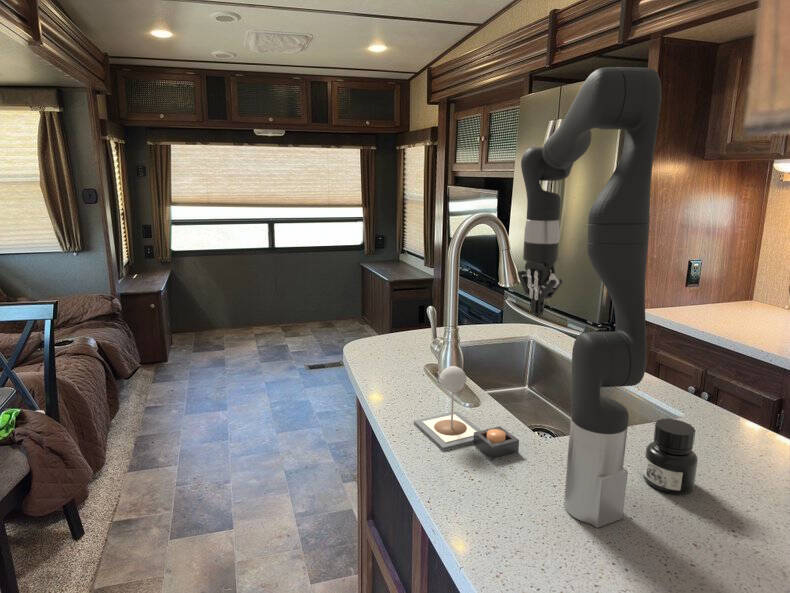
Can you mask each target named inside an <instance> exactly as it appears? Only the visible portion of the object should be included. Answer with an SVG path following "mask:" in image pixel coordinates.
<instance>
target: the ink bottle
mask: <svg viewBox="0 0 790 593" xmlns="http://www.w3.org/2000/svg"><path fill="white" fill-rule="evenodd" d="M654 423H655V424H654V430H653V431H654V433H653V442H650V443H648V445H647V446H646V448H645V454H644V455H645V456H644V462H643V470H642V471H643V474H642V476H643V479H644V481H645V482H646V483H647V484H648V485H650V486H651V487H653V488H654V489H656V490H658V491H660V492H663V493H665V494H671V495H684V494H688V493H691V492H692V491H693V490H694V488H695V482H696V476H697V470H698V469H697V468H698V463H699V462H698V461H699V459H698V455H697V453H695V451H694V450H693V448H694V443H695V438H696V437H695V436H696V429H695V427H694V426H692V425H691V424H690V423H687V422H685V421H683V420H680V419H679V420H678V419H674V418H673V419H672V418H661V419H657V421H655V422H654Z"/></svg>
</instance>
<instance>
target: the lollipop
mask: <svg viewBox="0 0 790 593" xmlns="http://www.w3.org/2000/svg"><path fill="white" fill-rule="evenodd" d="M467 380H468V379H467V375H466V373H465V371H464V370H463V369H462V368H460V367H458V366H456V365H452V366H451V365H450V366H447V367H445V368H444V369H443V370H442V372H441V373H440V376H439V381H440V384H441V386H442V388H443V389H444V390H446V391H447V392H450V393H451V401H450V402H451V403H450V404H451V405H450V406H451V407H450V408H451V410H450V413H451V428H453V412H454V398H455V397H454V396H455V393H457V392H460V391H461V390H462V389H464V387H465V386H466V383H467Z"/></svg>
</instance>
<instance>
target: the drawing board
mask: <svg viewBox="0 0 790 593" xmlns="http://www.w3.org/2000/svg"><path fill="white" fill-rule="evenodd" d="M413 424H414V426H416V427H417V428H418V429H419V430H420V431H421V432H422V433H423V434H424V435H425V436H426V437H427V438H429V439H430V440H431V442H433V443H434V444H435V446H437V447H438V449H440V450H441V451H442V452H444V451H445V452H446V451H447V450H448V451H449V450H452V449H456V448H460V447H464V446H469V445H473V439H474V432H478V431H482V429H481V428H479V427H478V426H476V425H475V423H472V421H470V420H468V418H466V417H465V416H464V415H462V414H461V413H460V412H459V411H453V428H451V412H448V413H444V414H443V413H442V414H439V415H434V416H430V417H424V418H420V419H417V420H413Z"/></svg>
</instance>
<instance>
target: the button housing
mask: <svg viewBox="0 0 790 593" xmlns="http://www.w3.org/2000/svg"><path fill="white" fill-rule="evenodd" d="M491 429H498V430H502V431H504V432H505V434H506V436H505V441H502V442H498V443H494V444H493V443H492V442H490V441H489V440H488V439H487V431H489V430H491ZM481 430H482V429H481ZM472 445H473V446H474V447H476V449H478V450H479V451H480V452H482V453H483V454H484V455H486V457H487V458H489V459H490V460H491V461H493V460H496V459H500V458H504V457H506V456H511V455H514V454H519V448H520V447H519V446H520V439H518V437H516V436H514V435H513V434H512V433H510V432H508V430H506V429H505V428H503V427H502V426H500V425H499V426H495V427H491V428H487V429H483V430H482V431H478V432H474V439H473V444H472Z"/></svg>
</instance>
